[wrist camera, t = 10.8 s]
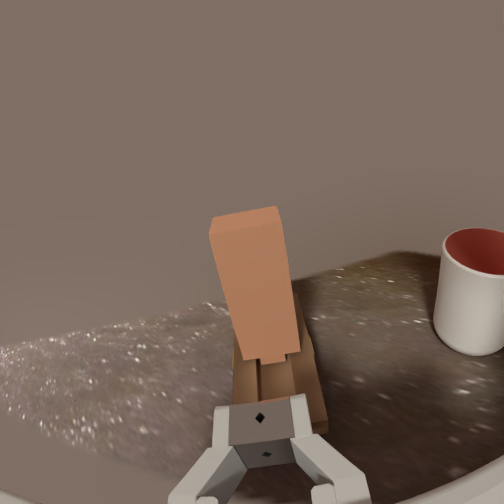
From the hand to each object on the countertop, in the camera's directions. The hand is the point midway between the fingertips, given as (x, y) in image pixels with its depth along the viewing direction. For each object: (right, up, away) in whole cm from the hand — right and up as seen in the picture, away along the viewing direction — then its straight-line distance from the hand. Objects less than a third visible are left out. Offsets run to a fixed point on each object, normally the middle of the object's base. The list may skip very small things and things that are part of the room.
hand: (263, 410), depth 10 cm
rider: (+2, -4, +19) cm, 20 cm away
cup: (+24, -3, +19) cm, 31 cm away
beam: (+2, -7, +20) cm, 21 cm away
